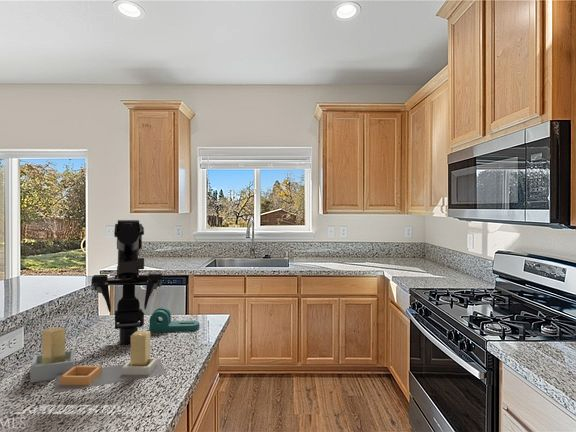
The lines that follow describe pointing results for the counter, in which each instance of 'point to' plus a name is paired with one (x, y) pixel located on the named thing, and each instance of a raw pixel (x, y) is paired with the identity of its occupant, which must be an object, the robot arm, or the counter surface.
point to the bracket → (169, 322)
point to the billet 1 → (53, 345)
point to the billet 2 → (140, 348)
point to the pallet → (105, 375)
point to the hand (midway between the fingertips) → (127, 310)
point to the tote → (50, 367)
